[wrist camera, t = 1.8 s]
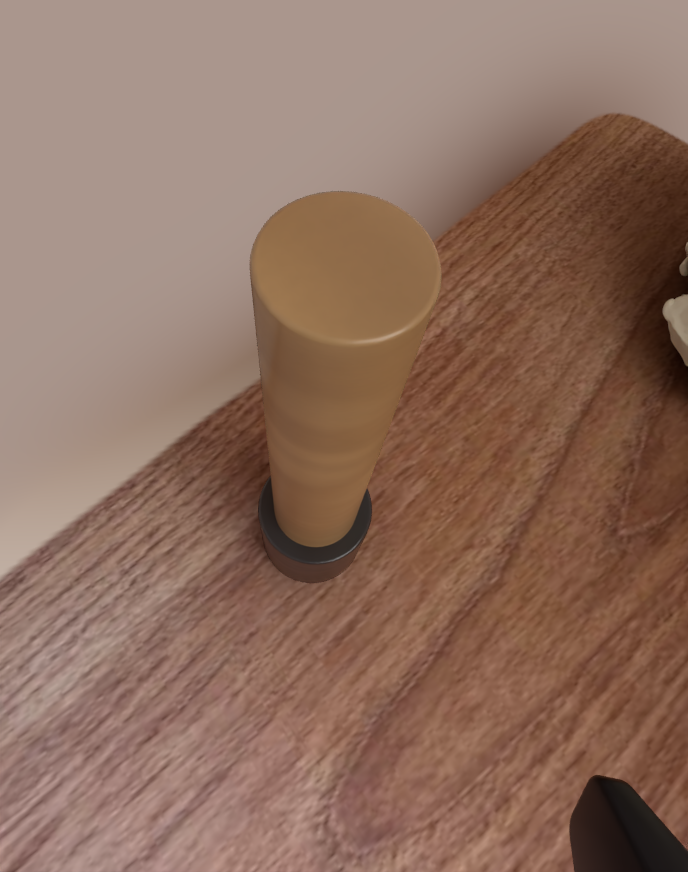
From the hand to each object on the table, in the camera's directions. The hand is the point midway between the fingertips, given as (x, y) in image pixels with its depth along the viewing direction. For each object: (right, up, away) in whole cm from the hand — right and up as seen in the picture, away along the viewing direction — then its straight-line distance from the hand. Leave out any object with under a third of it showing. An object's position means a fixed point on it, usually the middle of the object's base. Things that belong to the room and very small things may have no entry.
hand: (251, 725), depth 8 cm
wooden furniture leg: (0, 0, +14) cm, 14 cm away
